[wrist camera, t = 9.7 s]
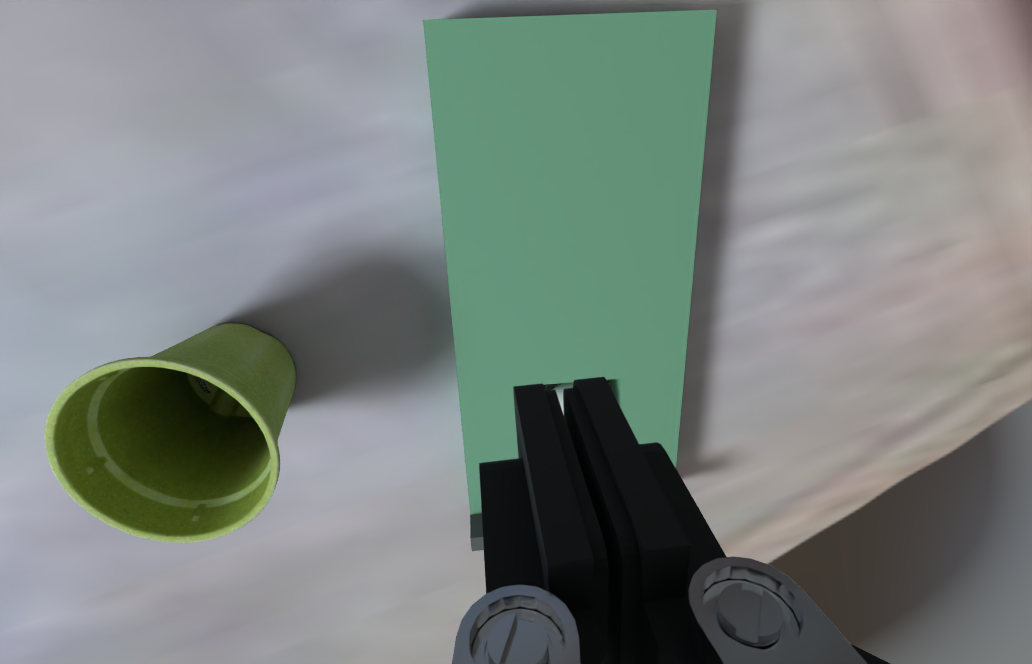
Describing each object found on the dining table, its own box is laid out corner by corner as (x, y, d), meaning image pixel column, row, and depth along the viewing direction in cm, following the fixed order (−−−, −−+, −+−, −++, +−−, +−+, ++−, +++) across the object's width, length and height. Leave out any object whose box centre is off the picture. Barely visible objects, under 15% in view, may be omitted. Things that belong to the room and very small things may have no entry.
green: (427, 27, 25) (419, 12, 21) (695, 18, 26) (737, 0, 22) (471, 501, 36) (471, 550, 32) (660, 484, 37) (683, 530, 33)
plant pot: (121, 320, 29) (-8, 398, 21) (284, 272, 29) (215, 334, 21) (205, 454, 33) (121, 565, 25) (350, 413, 33) (312, 511, 25)
